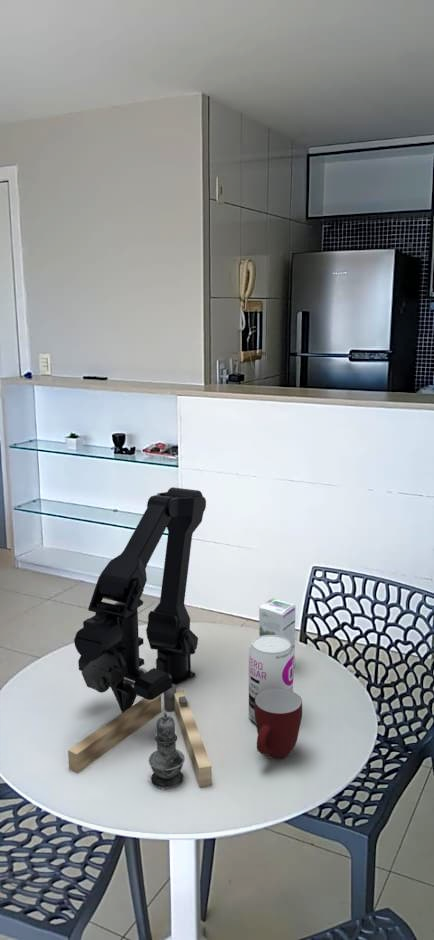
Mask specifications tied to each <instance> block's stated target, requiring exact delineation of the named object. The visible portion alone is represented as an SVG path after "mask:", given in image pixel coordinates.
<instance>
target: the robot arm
mask: <svg viewBox="0 0 434 940" xmlns="http://www.w3.org/2000/svg"><path fill="white" fill-rule="evenodd" d="M206 508H207V500H206V498H205V497H204V495H203V492H201V491H200V490H197V489H189V488H180V487H175V486H174V487H169V489H168V490H167V491H165V492H158V493H156V494H154V495H152V496H150V497H149V498H148V501H147V503H146V509H145V510H144V512H143V514H142V517H141V518H140V520H139V522H138V524H137V525H136V528H135V529H134V531H133V533H132V535H131V537H130V538H129V540H128V542H127V544H126V546H125V548H124V549H123V551H121V553H120V554H119V555H117V556H116V557H114V558H113V559H112V558H111V560H109V562H108V563H107V565H106V566H105V567H104V569H103V570H102V571H101V573H100V575H99V576H98V578H97V581H96V583H95V584H96V585H95V588H94V591H93V594H92V597H91V600H90V602H89V606H88V610H87V611H89V612H92V613H95V614H94V615H93V616H92V617H90V618H87V619H85V620H83V621H82V623H83V624H82V628H80V629H79V630H78V631H77V632H76V634H75V637H74V640H73V642H74V647H75V649H76V652H77V653H78V654H79V655H80V657H79V658H78V661H77V662H78V670H79V671H80V672H81V675H82V678H83V680H84V682H85V685H86V687H87V688H89V689H92V690H94V691H97V692H98V693H100V694H101V693H106V692H107V691H108V690H109V689H111V690H112V693H113V695H114V697H115V700H116V702H117V704H118V707H119V709H120V711H121V713H123V712H124V711H126V710H127V709H129V708H130V707H132V706H133V705H134V702H135V700H136V698H137V696H138V697H140V698H142V699H143V698H145V699H147V700H153V699H155V698H156V697H158V696H159V695H161V696H162V694H164V692H166V691H167V690H169V689H170V688H172V684H175V685H176V686H177V685H178V684H181V683H183V682H186V681H188V680H190V679H192V678H194V677H196V675H197V674H196V672H194V671H192V670H191V668H192V667H191V661H192V660H191V655H195V654H196V649H197V648H198V644H199V643H198V642H199V637H198V636H197V635H196V634H195V633H194V632H193V631H192V630H191V618H190V617H191V616H190V615H189V612H188V610H187V608H186V606H185V600H186V599H185V598H186V590H187V581H188V574H189V566H190V557H191V556H190V555H191V549H192V548H191V547H192V540H193V539H192V538H193V534H194V532H195V531H196V529H198V527H199V526H200V524H202V521H203V519H204V518H203V517H204V513H205V510H206ZM166 529H167V540H166V547H165V555H164V557H165V558H164V564H163V572H162V573H163V574H162V581H161V582H162V583H161V590H160V599H159V603H158V604H157V605H156V607H155V608H154V610H151V611H149V613H148V616H147V624H146V625H147V626H146V630H145V631H146V639H147V641H148V644H149V648H150V650H155V651H156V654H157V658H155V659H156V660H155V667H153V668H151V669H149V670H147V669H145V668H142V666H144V665H145V659H144V658H142V657H140V646H142V645H144V638H142V637H139V636H140V635H139V614H138V608H140V607H141V606H142V605H143V604H144V600H142V599H141V597H142V596H143V593H144V588H145V586H146V583H147V581H148V578H147V571H146V570H147V566H148V564H149V562H150V560H151V558H152V556H153V555H154V552H155V550H156V548H157V546H158V545H159V543H160V540H161V538H162V537H163V535H164V532H165V531H166ZM103 599H104V600H108V601H114V602H115V603H110V602H105V601H103Z"/></svg>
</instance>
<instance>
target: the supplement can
mask: <svg viewBox="0 0 434 940" xmlns="http://www.w3.org/2000/svg"><path fill="white" fill-rule="evenodd" d="M251 642H252V643H251V645H250V647H249V649H248V716H249V718H250V720H252V721H253V723H255V724H256V721H255V713H254V705H255V697H256V696H257V694H259V693H260V692H262V691H264V690H267V689H274V688H280V689H287V690H290V691H293V692H294V668H295V666H294V650H293V648H292V646H291V644H290V642H289V640H288V639H286V638H284V637H281V636H277V635H264V636H260V637H259V636H258V637H256V638H254V639H253V640H252V641H251Z"/></svg>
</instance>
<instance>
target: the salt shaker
mask: <svg viewBox="0 0 434 940" xmlns="http://www.w3.org/2000/svg"><path fill="white" fill-rule="evenodd" d="M175 728H176V724H175V719H174V718H173V717H172V716H170V715H168V713H167V712H166V711H165V712H164V713H163V714H162V716H160V717H159V718H157V720H156V734H155V735H156V736H155V737H154V742H155V743H156V750H155V751H154V752H152V753H151V754H150V756H149V757H148V764H149V766H150V767H151V768H150V769H151V770H152V772H153V773H152V774H151V776H150V782H151V783H152V785H154V787H156V788H159V789H164V790H167V789H174V788H176V787H178V786H180V785H181V784H182V782H183V780H184V775H183V772H182V771H181V770H182V768H183V765H184V763H185V760H186V757H185V755H184V753H183V752H182V751H180V750H178V749H177V743H176V742H177V741H178V735H177V734H176V729H175Z"/></svg>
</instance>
